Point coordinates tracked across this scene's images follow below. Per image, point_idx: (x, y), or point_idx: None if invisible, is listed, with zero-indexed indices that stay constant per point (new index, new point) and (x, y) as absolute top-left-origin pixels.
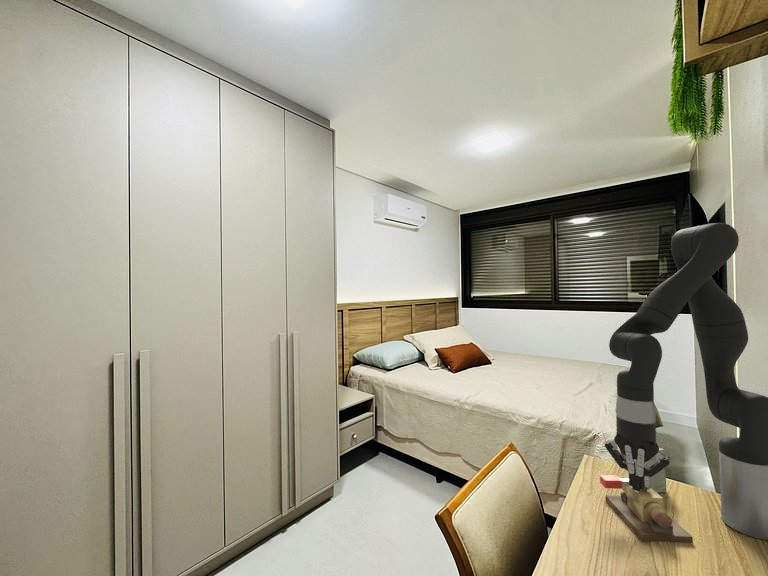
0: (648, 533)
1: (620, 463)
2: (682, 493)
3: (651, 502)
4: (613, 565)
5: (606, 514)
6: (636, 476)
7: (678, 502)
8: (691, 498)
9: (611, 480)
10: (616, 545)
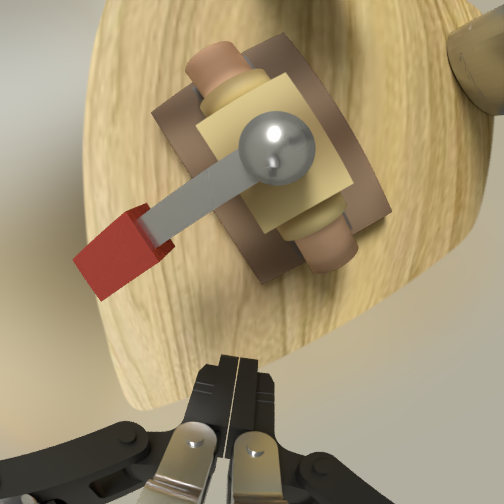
0: (279, 267)
1: (128, 478)
2: None
3: (301, 214)
4: None
5: None
6: (227, 454)
7: (362, 8)
8: None
9: (120, 287)
10: (208, 325)
